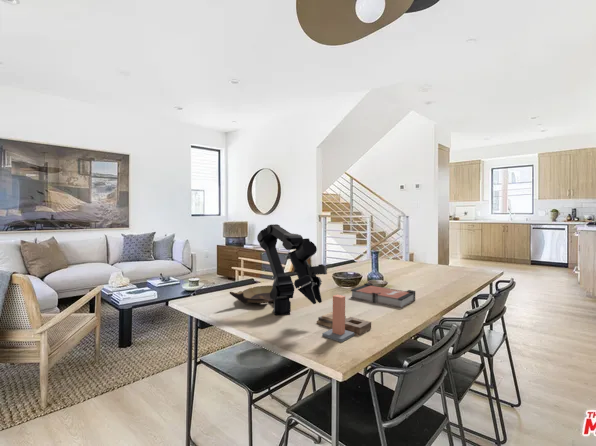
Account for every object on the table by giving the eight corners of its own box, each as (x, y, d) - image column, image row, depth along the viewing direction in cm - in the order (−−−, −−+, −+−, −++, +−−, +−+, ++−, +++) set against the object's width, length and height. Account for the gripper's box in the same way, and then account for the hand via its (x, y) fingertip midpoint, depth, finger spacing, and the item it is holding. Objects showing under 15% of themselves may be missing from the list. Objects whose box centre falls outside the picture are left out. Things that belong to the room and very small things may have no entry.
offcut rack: (316, 323, 128) (316, 315, 128) (331, 317, 136) (331, 309, 135) (358, 335, 116) (358, 327, 116) (372, 328, 123) (372, 320, 123)
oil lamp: (296, 304, 153) (296, 288, 153) (231, 312, 142) (231, 294, 141) (280, 293, 174) (280, 278, 173) (222, 298, 162) (222, 283, 162)
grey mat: (322, 336, 115) (322, 333, 115) (335, 329, 121) (335, 327, 121) (341, 342, 110) (341, 339, 110) (354, 335, 116) (354, 332, 116)
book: (350, 298, 165) (350, 288, 165) (366, 292, 178) (366, 283, 178) (401, 309, 148) (401, 298, 148) (415, 301, 162) (415, 290, 162)
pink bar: (332, 332, 116) (332, 295, 115) (336, 330, 118) (337, 294, 117) (340, 335, 113) (341, 297, 113) (344, 333, 115) (345, 296, 115)
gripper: (313, 253, 117) (332, 294, 112) (324, 257, 135) (341, 293, 130) (286, 267, 119) (304, 308, 114) (300, 269, 136) (316, 305, 132)
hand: (318, 303), depth 123 cm, fingers open, 9 cm apart
